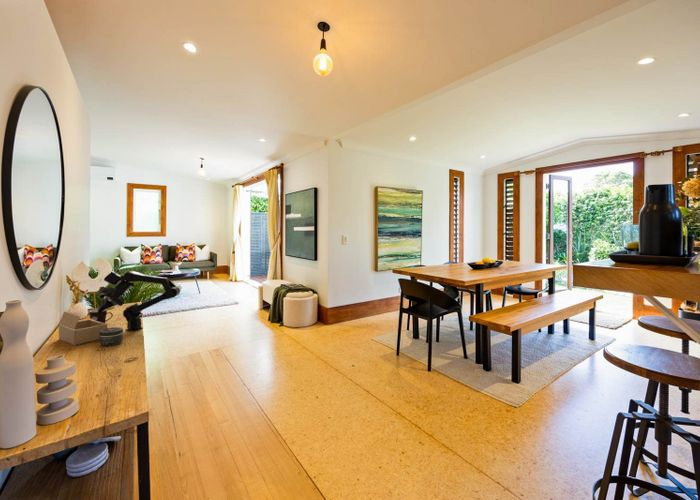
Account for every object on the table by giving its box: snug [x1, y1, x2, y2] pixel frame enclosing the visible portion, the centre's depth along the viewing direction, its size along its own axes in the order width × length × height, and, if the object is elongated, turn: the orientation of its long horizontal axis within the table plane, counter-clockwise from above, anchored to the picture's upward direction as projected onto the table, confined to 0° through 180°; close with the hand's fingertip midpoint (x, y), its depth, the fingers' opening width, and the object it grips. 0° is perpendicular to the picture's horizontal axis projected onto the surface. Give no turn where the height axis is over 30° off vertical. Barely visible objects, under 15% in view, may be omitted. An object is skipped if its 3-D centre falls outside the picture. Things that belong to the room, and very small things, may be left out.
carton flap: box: [58, 311, 81, 330], centre depth 164 cm, size 1×18×7 cm, turn 62°
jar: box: [99, 326, 124, 348], centre depth 163 cm, size 10×10×8 cm
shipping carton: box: [58, 318, 108, 347], centre depth 169 cm, size 15×19×8 cm
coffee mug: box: [88, 308, 113, 324], centre depth 192 cm, size 12×9×10 cm
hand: (98, 311), depth 175 cm, fingers closed
